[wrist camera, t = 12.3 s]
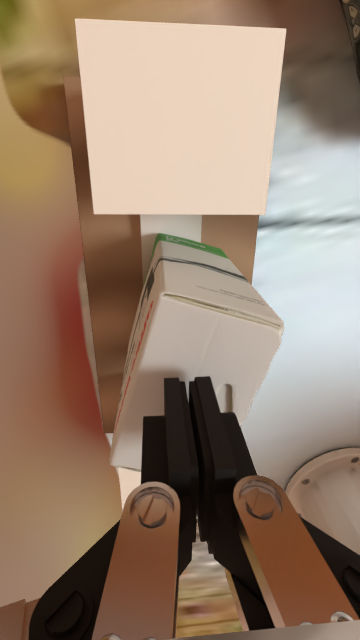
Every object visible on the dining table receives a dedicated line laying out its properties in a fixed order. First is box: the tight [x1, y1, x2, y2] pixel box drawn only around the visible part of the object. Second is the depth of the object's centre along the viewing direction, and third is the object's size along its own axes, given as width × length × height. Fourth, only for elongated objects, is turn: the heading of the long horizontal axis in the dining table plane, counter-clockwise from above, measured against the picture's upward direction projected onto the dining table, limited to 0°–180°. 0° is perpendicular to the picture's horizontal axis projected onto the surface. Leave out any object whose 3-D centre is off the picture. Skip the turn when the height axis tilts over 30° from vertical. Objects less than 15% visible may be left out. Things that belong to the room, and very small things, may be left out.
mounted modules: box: [75, 19, 286, 511], centre depth 19 cm, size 25×7×8 cm, turn 179°
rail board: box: [63, 76, 259, 433], centre depth 24 cm, size 26×12×2 cm, turn 0°
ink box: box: [109, 233, 284, 472], centre depth 17 cm, size 9×5×12 cm, turn 163°
